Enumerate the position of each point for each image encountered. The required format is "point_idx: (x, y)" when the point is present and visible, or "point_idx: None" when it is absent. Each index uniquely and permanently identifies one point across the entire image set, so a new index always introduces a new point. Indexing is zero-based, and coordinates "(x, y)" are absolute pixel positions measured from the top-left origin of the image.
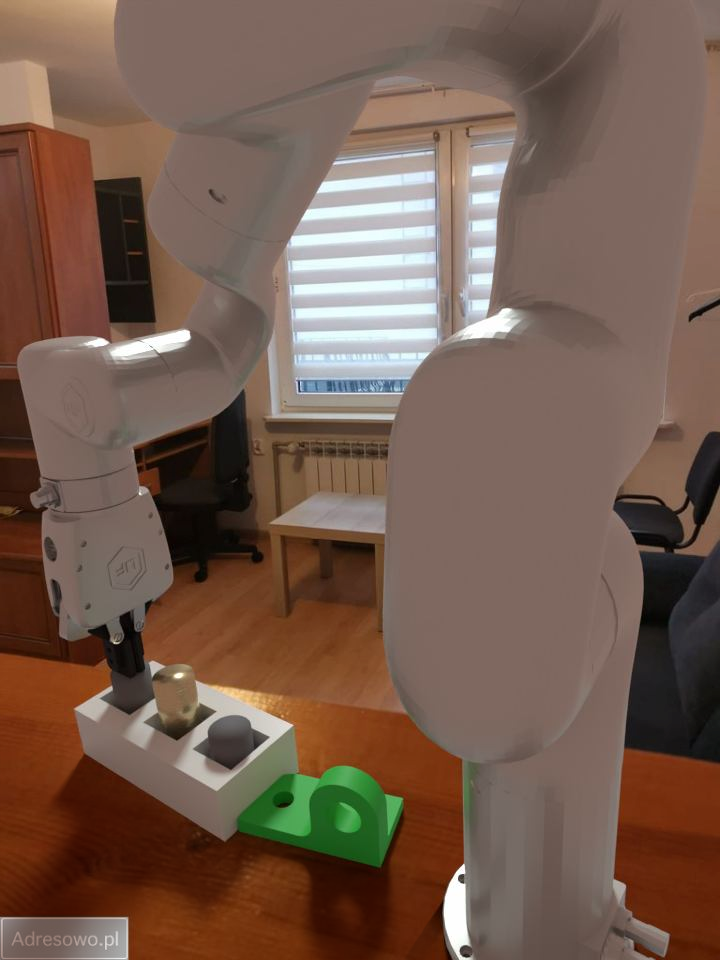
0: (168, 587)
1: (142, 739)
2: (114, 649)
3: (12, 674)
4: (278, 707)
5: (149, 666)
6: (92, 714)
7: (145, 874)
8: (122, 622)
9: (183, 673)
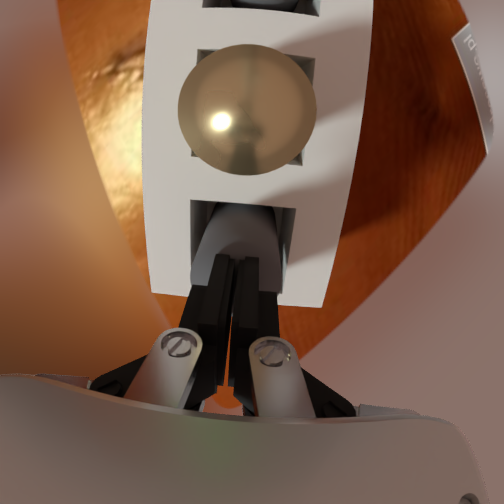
0: (12, 374)
1: (342, 129)
2: (277, 334)
3: (234, 407)
4: (84, 94)
5: (200, 254)
6: (322, 271)
7: (413, 47)
8: (206, 388)
9: (220, 87)
